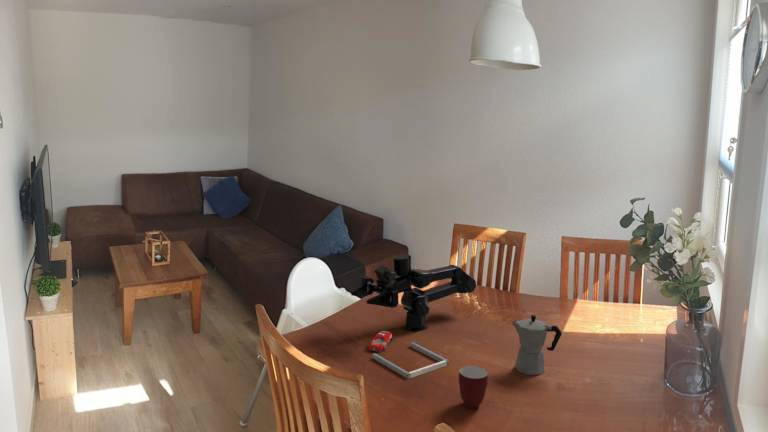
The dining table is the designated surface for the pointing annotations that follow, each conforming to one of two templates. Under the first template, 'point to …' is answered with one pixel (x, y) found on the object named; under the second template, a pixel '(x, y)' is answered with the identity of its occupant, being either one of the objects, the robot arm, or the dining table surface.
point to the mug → (473, 385)
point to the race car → (380, 341)
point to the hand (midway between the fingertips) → (358, 297)
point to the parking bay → (417, 372)
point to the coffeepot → (533, 344)
